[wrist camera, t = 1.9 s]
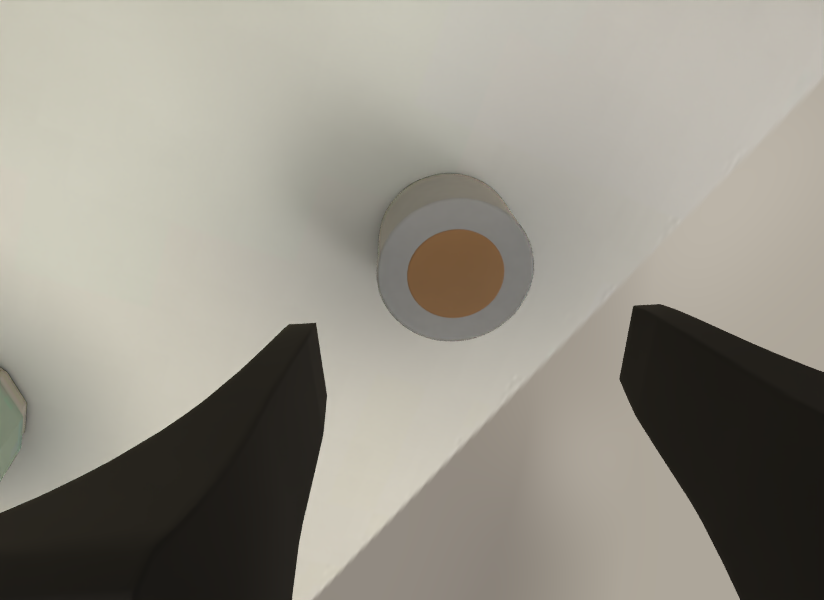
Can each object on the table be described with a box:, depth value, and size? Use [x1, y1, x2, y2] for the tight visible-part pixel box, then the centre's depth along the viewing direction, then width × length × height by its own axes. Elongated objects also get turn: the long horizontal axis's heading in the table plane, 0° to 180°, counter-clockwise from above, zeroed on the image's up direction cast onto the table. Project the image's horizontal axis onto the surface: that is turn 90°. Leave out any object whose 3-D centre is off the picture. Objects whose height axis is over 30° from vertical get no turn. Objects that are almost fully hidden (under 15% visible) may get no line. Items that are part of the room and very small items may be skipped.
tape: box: [377, 174, 534, 341], centre depth 16 cm, size 5×5×3 cm
